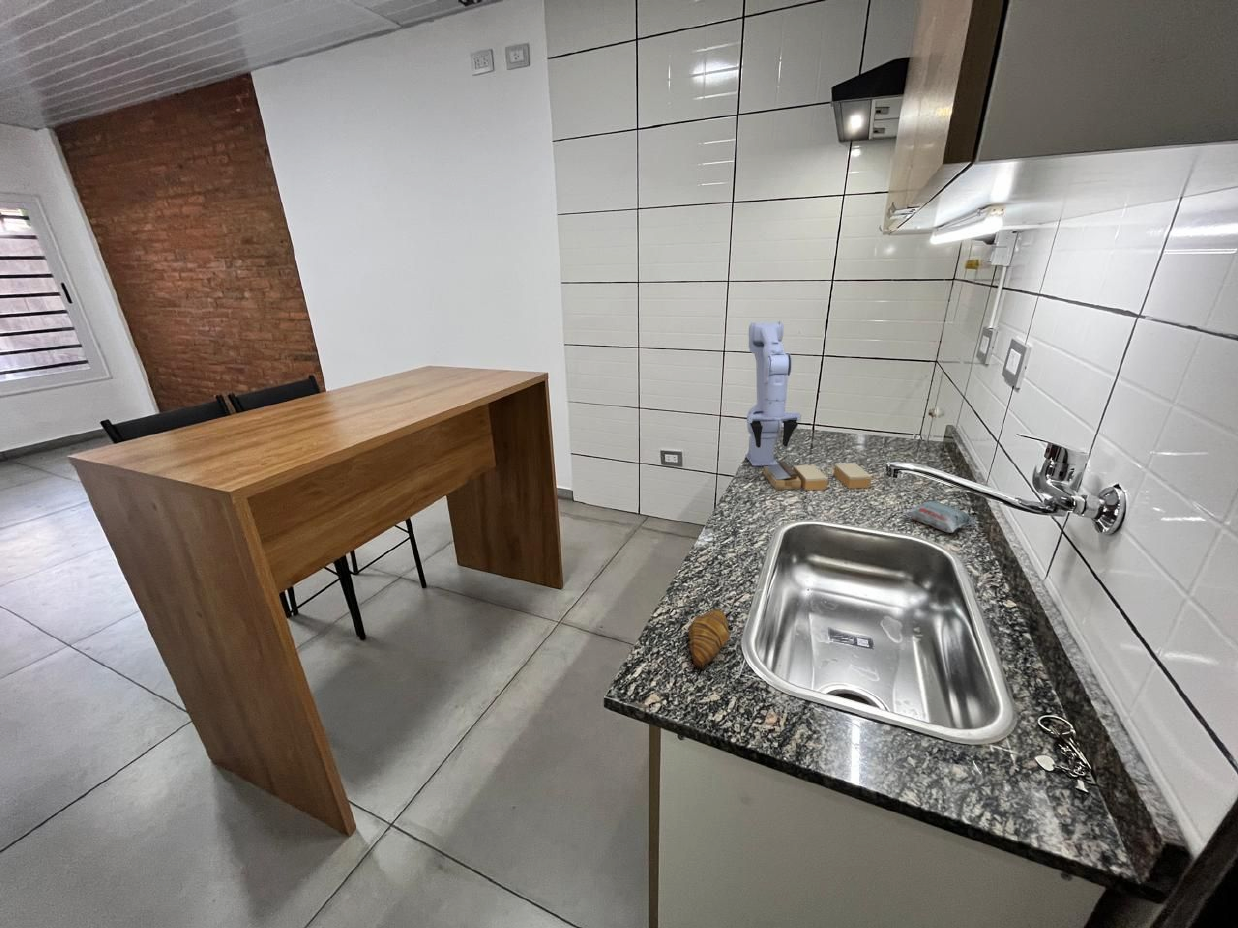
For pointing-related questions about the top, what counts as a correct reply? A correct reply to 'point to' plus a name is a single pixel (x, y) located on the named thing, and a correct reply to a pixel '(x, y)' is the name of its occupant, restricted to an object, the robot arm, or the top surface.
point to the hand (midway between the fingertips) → (771, 446)
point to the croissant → (707, 637)
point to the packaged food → (940, 516)
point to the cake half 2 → (852, 475)
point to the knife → (782, 471)
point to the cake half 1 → (811, 477)
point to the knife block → (781, 481)
